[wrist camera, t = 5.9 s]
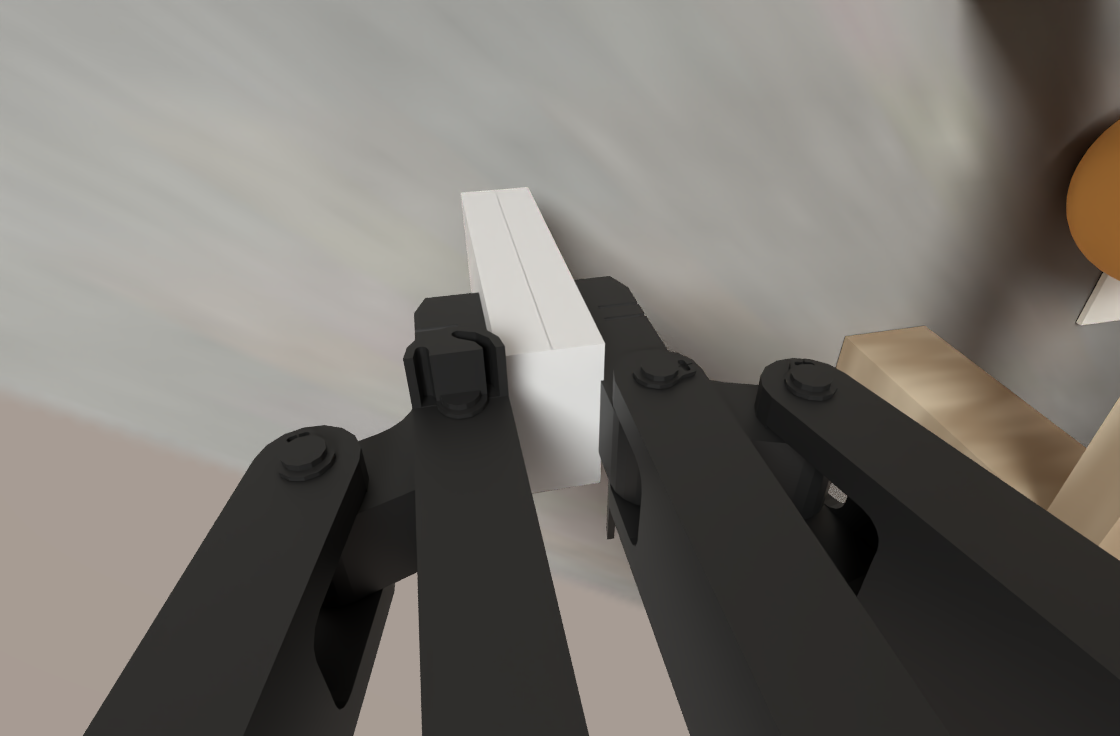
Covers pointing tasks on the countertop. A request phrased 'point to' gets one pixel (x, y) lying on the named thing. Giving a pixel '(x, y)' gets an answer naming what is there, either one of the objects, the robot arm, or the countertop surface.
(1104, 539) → the bridge
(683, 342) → the countertop surface
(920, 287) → the countertop surface
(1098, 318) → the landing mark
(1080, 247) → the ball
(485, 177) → the countertop surface
